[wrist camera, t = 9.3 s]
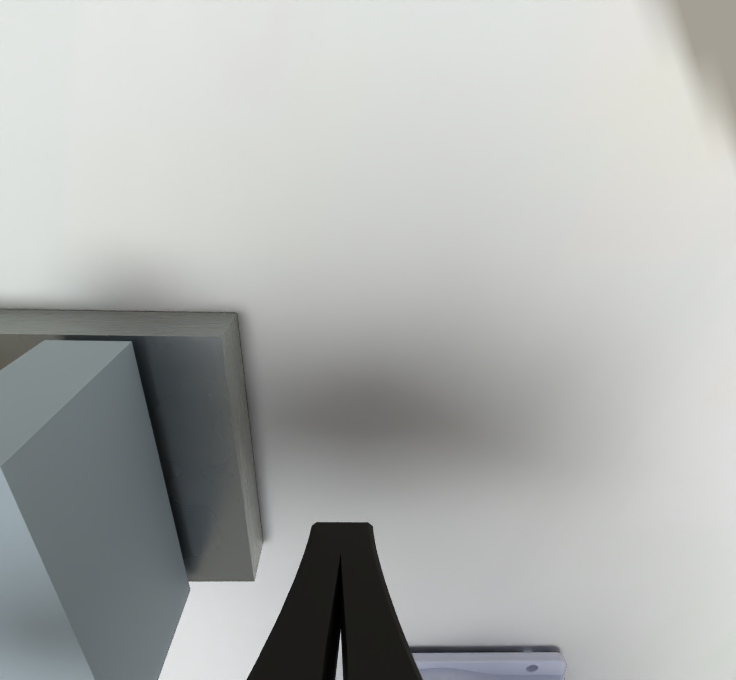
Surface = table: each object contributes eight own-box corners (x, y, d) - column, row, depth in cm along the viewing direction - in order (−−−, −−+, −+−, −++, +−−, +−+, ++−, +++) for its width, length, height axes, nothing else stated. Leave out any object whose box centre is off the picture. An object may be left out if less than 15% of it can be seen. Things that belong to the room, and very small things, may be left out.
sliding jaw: (131, 341, 10) (0, 466, 7) (190, 590, 14) (130, 757, 10) (26, 340, 10) (-168, 466, 6) (114, 590, 14) (27, 759, 10)
